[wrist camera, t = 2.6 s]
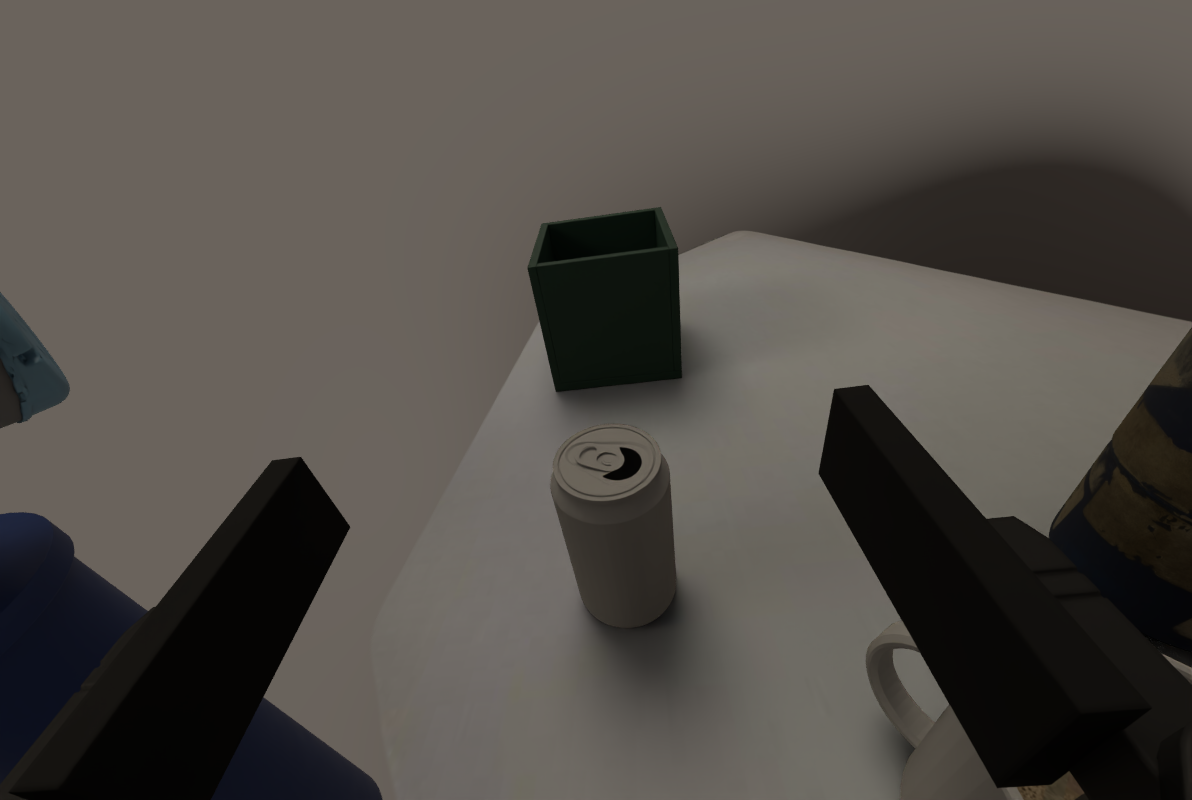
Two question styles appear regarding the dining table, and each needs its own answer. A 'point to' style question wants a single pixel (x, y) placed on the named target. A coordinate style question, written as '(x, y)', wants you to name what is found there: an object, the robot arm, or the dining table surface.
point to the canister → (1141, 510)
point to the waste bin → (608, 299)
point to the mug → (946, 738)
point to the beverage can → (617, 522)
